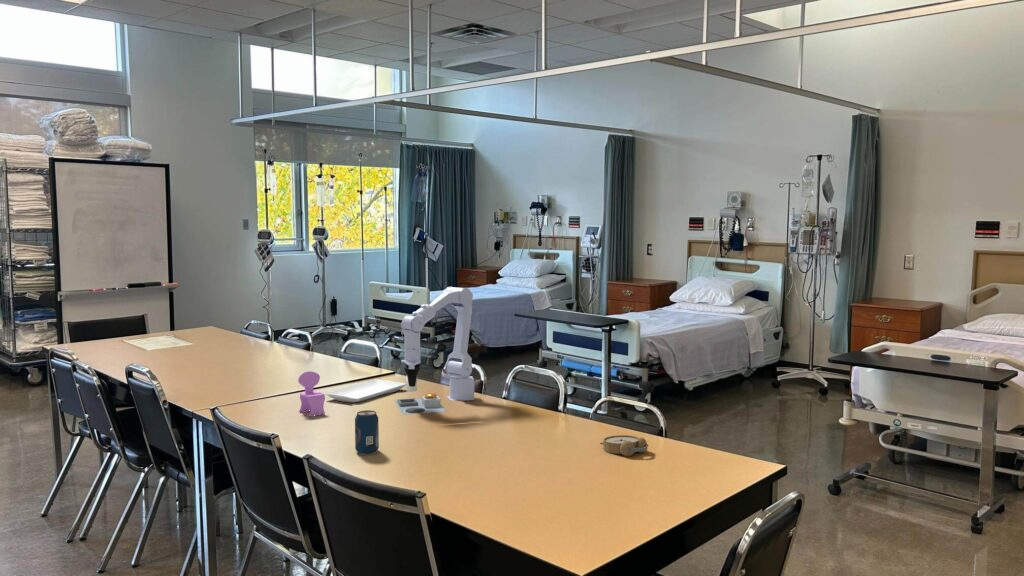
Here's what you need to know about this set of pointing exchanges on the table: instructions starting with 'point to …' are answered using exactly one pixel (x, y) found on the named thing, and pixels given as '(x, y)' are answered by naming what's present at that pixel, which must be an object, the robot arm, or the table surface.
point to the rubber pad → (415, 410)
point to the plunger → (430, 396)
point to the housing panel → (420, 405)
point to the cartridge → (410, 389)
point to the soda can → (366, 432)
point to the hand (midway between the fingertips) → (412, 385)
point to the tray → (365, 390)
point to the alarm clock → (624, 445)
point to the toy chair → (311, 394)
